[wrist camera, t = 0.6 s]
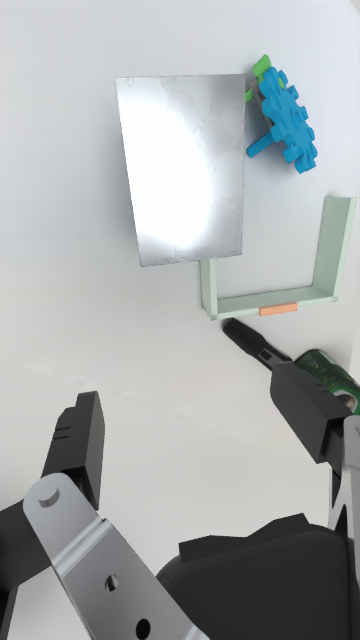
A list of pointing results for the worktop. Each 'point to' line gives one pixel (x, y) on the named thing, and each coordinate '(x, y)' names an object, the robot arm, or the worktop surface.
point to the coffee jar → (332, 378)
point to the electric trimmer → (253, 344)
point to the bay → (322, 291)
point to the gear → (281, 116)
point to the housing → (184, 164)
